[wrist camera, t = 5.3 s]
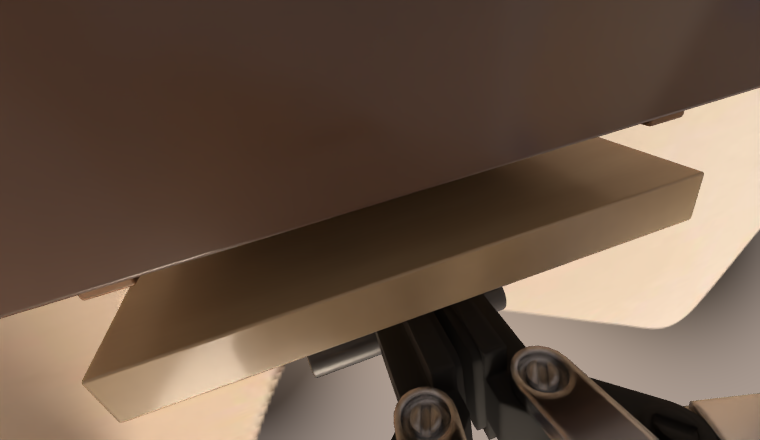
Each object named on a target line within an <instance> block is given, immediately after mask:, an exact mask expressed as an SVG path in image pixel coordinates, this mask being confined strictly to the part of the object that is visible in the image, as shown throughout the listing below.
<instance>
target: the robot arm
mask: <svg viewBox="0 0 760 440" xmlns="http://www.w3.org/2000/svg"><path fill="white" fill-rule="evenodd" d="M375 334H376V337H377V340H378V344H379V347H380V350H381V353H382V356H383V359H384V362H385V365H386V368H387V371H388V374H389V377H390V380H391V383H392V386H393V389H394V392H395V394H396V397H397V401H398V403H397V405H396V408H395V411H394V428H395V433H394V435H393V437H392V439H391V440H473V439H472V429H471V421H472V423H473V425H474V426H475V428H476V429H477V430H480V429H484V431H485V433H486V435H487V437H488V439H489V440H490V439H493V438H495V437H497V439H498V440H760V393H757V394H748V395H741V396H732V397H723V398H714V399H705V400H697V401H690V404H689V406H681V405H678V404H676V403H673V402H671V401H667V400H664V399H661V398H657V397H654V396H651V395H647V394H644V393H640V392H637V391H634V390H630V389H627V388H623V387H620V386H617V385H613V384H610V383H606V382H603V381H600V380H596V379H593V378H590V377H588V376H587V375H586V374H585V373H584V372H583V371H582V370H580V369H579V368H578V367H577V366H576V365H575V364H574V363H573V362H571V361H570V360H569V359H568V358H567V357H566V356H564V355H563V354H561V353H560V352H558V351H556V350H553V349H551V348H549V347H543V346H529V347H525V346H524V345H523V343H522V342H521V341H520V340H519V338H518V337H517V336H516V335H515V333H514V332H513V331H512V329H511V328H510V327H509V326H508V324H507V323H506V322H505V321H504V320H503V318H502V317H501V316H500V314H499V313H498V312H497V311H496V309H495V308H494V307H493V306H492V304H491V303H490V302H489V301H488V299H487V298H486V297H485V296H484V294H480V295H477V296H474V297H472V298H469V299H466V300H463V301H460V302H458V303H455V304H452V305H449V306H446V307H444V308H441V309H438V310H435V311H432V312H430V313H427V314H424V315H421V316H419V317H416V318H413V319H410V320H407V321H405V322H402V323H399V324H396V325H393V326H391V327H388V328H385V329H382V330H379V331H377V332H375Z"/></svg>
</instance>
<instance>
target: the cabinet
mask: <svg viewBox="0 0 760 440" xmlns="http://www.w3.org/2000/svg"><path fill="white" fill-rule="evenodd" d="M757 88H760V0H0V319H1V318H4V317H7V316H11V315H14V314H17V313H21V312H24V311H27V310H30V309H34V308H37V307H40V306H44V305H47V304H50V303H53V302H57V301H60V300H63V299H67V298H70V297H73V296H76V295H80V294H83V293H86V292H90V291H93V290H96V289H99V288H103V287H106V286H109V285H113V284H116V283H119V282H122V281H126V280H129V279H132V278H136V277H139V276H142V275H145V274H149V273H152V272H155V271H159V270H162V269H165V268H168V267H172V266H175V265H178V264H182V263H185V262H188V261H191V260H195V259H198V258H201V257H205V256H208V255H211V254H214V253H218V252H221V251H224V250H228V249H231V248H234V247H237V246H241V245H244V244H247V243H251V242H254V241H257V240H260V239H264V238H267V237H270V236H274V235H277V234H280V233H283V232H287V231H290V230H293V229H297V228H300V227H303V226H306V225H310V224H313V223H316V222H320V221H323V220H326V219H329V218H333V217H336V216H339V215H343V214H346V213H349V212H352V211H356V210H359V209H362V208H366V207H369V206H372V205H375V204H379V203H382V202H385V201H389V200H392V199H395V198H398V197H402V196H405V195H408V194H412V193H415V192H418V191H421V190H425V189H428V188H431V187H435V186H438V185H441V184H444V183H448V182H451V181H454V180H458V179H461V178H464V177H467V176H471V175H474V174H477V173H481V172H484V171H487V170H490V169H494V168H497V167H500V166H504V165H507V164H510V163H513V162H517V161H520V160H523V159H527V158H530V157H533V156H536V155H540V154H543V153H546V152H550V151H553V150H556V149H559V148H563V147H566V146H569V145H573V144H576V143H579V142H583V141H586V140H589V139H592V138H596V137H599V136H602V135H606V134H609V133H612V132H615V131H619V130H622V129H625V128H629V127H632V126H635V125H638V124H642V123H645V122H648V121H652V120H655V119H658V118H661V117H665V116H668V115H671V114H675V113H678V112H681V111H684V110H688V109H691V108H694V107H698V106H701V105H704V104H707V103H711V102H714V101H717V100H721V99H724V98H727V97H730V96H734V95H737V94H740V93H744V92H747V91H750V90H753V89H757Z"/></svg>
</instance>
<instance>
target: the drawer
mask: <svg viewBox="0 0 760 440" xmlns="http://www.w3.org/2000/svg"><path fill="white" fill-rule="evenodd" d="M683 114H684V111H681V112H678V113H675V114H671V115H668V116H665V117H661V118H658V119H655V120H652V121H648V122H645V123H642V125H646V126H653V125H657V124H660V123H663V122H666V121H670V120H673V119H676V118H679V117H682V115H683ZM703 176H704V173H703V172H701V171H698V170H695V169H692V168H689V167H686V166H683V165H680V164H677V163H674V162H671V161H668V160H665V159H662V158H659V157H656V156H653V155H651V154H648V153H645V152H642V151H639V150H636V149H633V148H630V147H627V146H624V145H621V144H618V143H615V142H612V141H609V140H606V139H603V138H600V137H596V138H592V139H589V140H586V141H583V142H579V143H576V144H573V145H569V146H566V147H563V148H559V149H556V150H553V151H550V152H546V153H543V154H540V155H536V156H533V157H530V158H527V159H523V160H520V161H517V162H513V163H510V164H507V165H504V166H500V167H497V168H494V169H490V170H487V171H484V172H481V173H477V174H474V175H471V176H467V177H464V178H461V179H458V180H454V181H451V182H448V183H444V184H441V185H438V186H435V187H431V188H428V189H425V190H421V191H418V192H415V193H412V194H408V195H405V196H402V197H398V198H395V199H392V200H389V201H385V202H382V203H379V204H375V205H372V206H369V207H366V208H362V209H359V210H356V211H352V212H349V213H346V214H343V215H339V216H336V217H333V218H329V219H326V220H323V221H320V222H316V223H313V224H310V225H306V226H303V227H300V228H297V229H293V230H290V231H287V232H283V233H280V234H277V235H274V236H270V237H267V238H264V239H260V240H257V241H254V242H251V243H247V244H244V245H241V246H237V247H234V248H231V249H228V250H224V251H221V252H218V253H214V254H211V255H208V256H205V257H201V258H198V259H195V260H191V261H188V262H185V263H182V264H178V265H175V266H172V267H168V268H165V269H162V270H159V271H155V272H152V273H149V274H145V275H142V276H139V277H136V278H132V279H129V280H126V281H122V282H119V283H116V284H113V285H109V286H106V287H103V288H99V289H96V290H93V291H90V292H86V293H83V294H80V295H78V296H79V297H80V298H81V299H82V300H88V299H91V298H94V297H97V296H101V295H104V294H107V293H111V292H114V291H117V290H120V289H124V288H127V287H130V288H129V290H128V292H127V294H126V296H125V297H124V299H123V301H122V303H121V305H120V307H119V309H118V311H117V313H116V315H115V317H114V319H113V321H112V323H111V325H110V327H109V329H108V331H107V333H106V335H105V337H104V339H103V341H102V343H101V345H100V347H99V349H98V351H97V352H96V354H95V356H94V358H93V360H92V362H91V364H90V366H89V368H88V370H87V372H86V374H85V376H84V378H83V380H82V385H83V386H84V387H85V388H86V389H87V390H88V391H89V392H90V393H91V394H92V395H93V396H94V397H95V398H96V399H97V400H98V401H99V402H100V403H101V404H102V405H103V406H104V407H105V408H106V409H107V410H108V411H109V412H110V413H111V414H112V415H113V416H114V417H115V418H116V419H117V420H118V421H119V422H125V421H128V420H131V419H134V418H136V417H139V416H142V415H145V414H148V413H150V412H153V411H156V410H159V409H162V408H164V407H167V406H170V405H173V404H176V403H178V402H181V401H184V400H187V399H190V398H192V397H195V396H198V395H201V394H203V393H206V392H209V391H212V390H215V389H217V388H220V387H223V386H226V385H229V384H231V383H234V382H237V381H240V380H243V379H245V378H248V377H251V376H254V375H257V374H259V373H262V372H265V371H268V370H270V369H273V368H276V367H279V366H282V365H284V364H287V363H290V362H293V361H296V360H298V359H301V358H304V357H307V358H308V362H309V365H310V368H311V370H312V373H313V375H314V376H315V377H317V378H318V377H321V376H324V375H327V374H329V373H332V372H335V371H337V370H340V369H343V368H345V367H348V366H351V365H354V364H356V363H359V362H362V361H364V360H367V359H370V358H373V357H375V356H378V355H381V354H382V353H381V350H380V347H379V344H378V340H377V337H376V334H375V332H377V331H379V330H382V329H385V328H388V327H391V326H393V325H396V324H399V323H402V322H405V321H407V320H410V319H413V318H416V317H419V316H421V315H424V314H427V313H430V312H432V311H435V310H438V309H441V308H444V307H446V306H449V305H452V304H455V303H458V302H460V301H463V300H466V299H469V298H472V297H474V296H477V295H480V294H484V296H485V297H486V298H487V299H488V301H489V302H490V303H491V304H492V306H493V307H494V308H495V309H496V311H497V312H498V311H500V310H503V309H504V308H505V307H506V296H505V293H504V290H503V288H502V286H505V285H508V284H511V283H513V282H516V281H519V280H522V279H525V278H527V277H530V276H533V275H536V274H539V273H541V272H544V271H547V270H550V269H553V268H555V267H558V266H561V265H564V264H567V263H569V262H572V261H575V260H578V259H580V258H583V257H586V256H589V255H592V254H594V253H597V252H600V251H603V250H606V249H608V248H611V247H614V246H617V245H620V244H622V243H625V242H628V241H631V240H634V239H636V238H639V237H642V236H645V235H647V234H650V233H653V232H656V231H659V230H661V229H664V228H667V227H670V226H673V225H675V224H678V223H681V222H684V221H687V220H689V219H690V218H691V216H692V213H693V209H694V206H695V203H696V199H697V196H698V193H699V189H700V186H701V183H702V179H703Z"/></svg>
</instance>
